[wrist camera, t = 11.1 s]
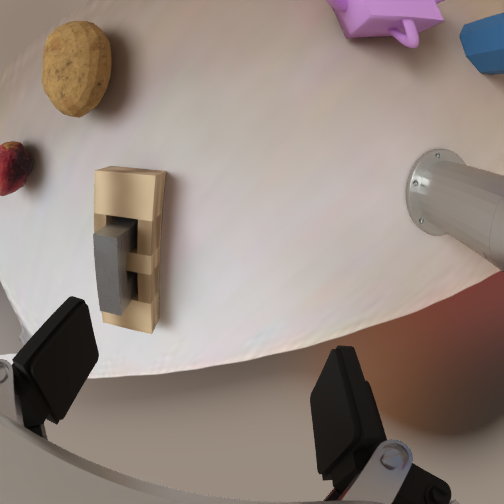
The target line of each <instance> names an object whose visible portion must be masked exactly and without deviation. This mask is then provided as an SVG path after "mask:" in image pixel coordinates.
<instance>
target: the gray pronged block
mask: <svg viewBox="0 0 504 504" xmlns="http://www.w3.org/2000/svg"><path fill="white" fill-rule="evenodd" d="M93 239H94V256H95V269H96V280H97V289H98V297H99V305H100V311H103V312H107V313H111V314H115V315H119V316H122V314H123V313H124V311H125V310H126V308H127V307H128V305H129V303H130V302H131V300H132V299H133V297H134V296H135V294H136V293H137V291H138V273H137V272H132V271H127V262H126V255H127V254H128V253H129V252H130V251H131V249H132V248H133V247H134V246H135V245H136V244H137V239H138V219H132V218H125V217H117V218H116V219H114V220H113V221H111V222H110V223H108V224H107V225H106V226H104V227H103V228H101V229H100V230H98V231H97V232H96V233H94V234H93Z"/></svg>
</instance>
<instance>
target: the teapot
mask: <svg viewBox="0 0 504 504" xmlns="http://www.w3.org/2000/svg"><path fill="white" fill-rule="evenodd" d="M441 1H444V0H327V2H328V3H329V4H330V5H331V6H332V8H333V10H334V12H335V14H336V16H337V18H338V21H339V23H340V25H341V27H342V30H343V32H344V35H345V37H346V38H358V37H379V36H393V37H394V38H395V39H397V40H398V41H399V42H400V43H401V44H403V45H404V46H406V47H409V48H416V47H418V45H419V36H418V34H419V33H421V32H423V31H425V30H427V29H429V28H431V27H433V26H435V25H437V24H440V23H442V22H444V19H443V17H442V15H441V13H440V11H439V8H438V6H437V4H438V3H439V2H441Z"/></svg>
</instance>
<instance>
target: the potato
mask: <svg viewBox="0 0 504 504" xmlns="http://www.w3.org/2000/svg"><path fill="white" fill-rule="evenodd" d="M110 76H111V49H110V42H109V40H108V38H107V37H106V35H105V34H104V32H103V31H102V30H101V29H100V28H99V27H98V26H96V25H95V24H94V23H91V22H87V21H73V22H69V23H66V24H64V25H61V26H59V27H58V28H56V29H55V30H54V31H53V32H52V33H51V34H50V35H49V36H48V38H47V41H46V43H45V46H44V54H43V73H42V84H43V88H44V91H45V93H46V94H47V96H48V97H49V99H50V100H51V102H52V103H53V105H54V106H55V107H56V108H57V109H58V110H59V111H60V112H62V113H63V114H65V115H68V116H73V117H81V116H83V115H85V114H87V113H88V112H90V111H91V110H92V109H93V108H95V107H96V106H97V105H98V104H99V103H100V101H101V99H102V97H103V95H104V93H105V91H106V90H107V87H108V83H109V79H110Z"/></svg>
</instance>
